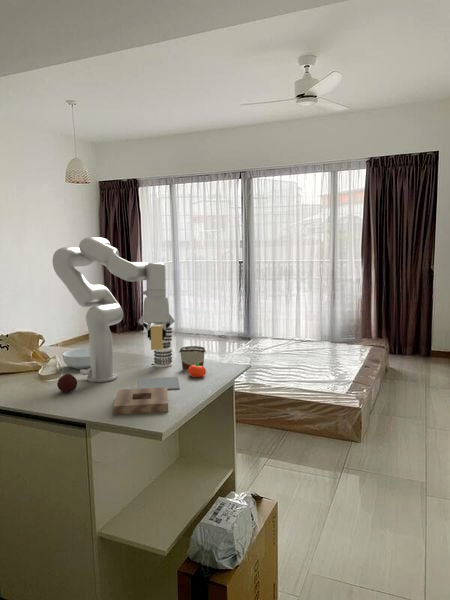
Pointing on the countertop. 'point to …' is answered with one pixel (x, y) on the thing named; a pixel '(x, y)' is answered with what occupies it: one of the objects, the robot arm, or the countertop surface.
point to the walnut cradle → (141, 401)
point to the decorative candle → (164, 350)
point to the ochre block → (156, 337)
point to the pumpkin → (196, 370)
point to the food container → (192, 356)
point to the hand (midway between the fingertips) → (156, 338)
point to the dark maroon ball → (67, 383)
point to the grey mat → (160, 383)
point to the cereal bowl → (77, 358)
